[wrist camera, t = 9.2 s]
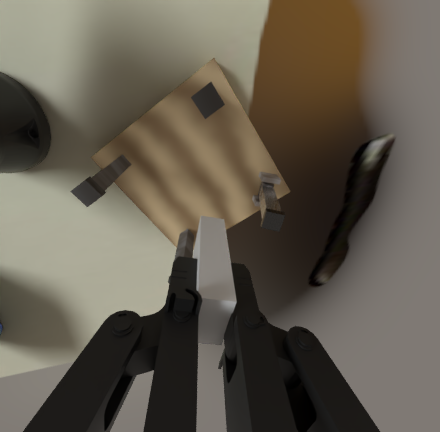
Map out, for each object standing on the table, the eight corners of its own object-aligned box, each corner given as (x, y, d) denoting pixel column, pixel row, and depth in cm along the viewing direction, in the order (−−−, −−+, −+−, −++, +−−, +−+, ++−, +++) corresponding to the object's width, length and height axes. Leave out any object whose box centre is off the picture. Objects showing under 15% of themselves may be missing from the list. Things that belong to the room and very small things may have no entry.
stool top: (185, 246, 50) (176, 307, 36) (98, 153, 40) (39, 186, 26) (285, 185, 45) (321, 229, 31) (213, 60, 35) (217, 39, 21)
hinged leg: (260, 179, 41) (274, 182, 41) (256, 193, 42) (269, 196, 42) (266, 210, 29) (285, 214, 29) (260, 228, 31) (279, 232, 31)
